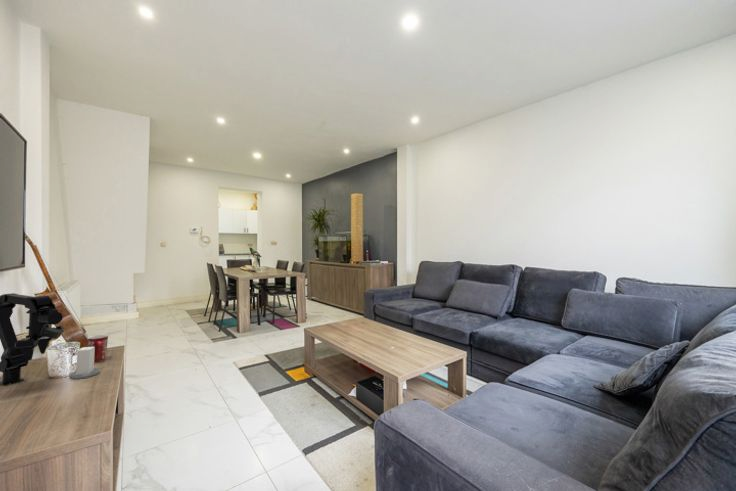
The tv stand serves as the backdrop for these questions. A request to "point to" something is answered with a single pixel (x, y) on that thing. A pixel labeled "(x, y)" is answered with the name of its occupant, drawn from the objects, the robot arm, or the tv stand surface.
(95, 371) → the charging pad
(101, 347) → the mug
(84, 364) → the block
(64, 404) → the tv stand surface
